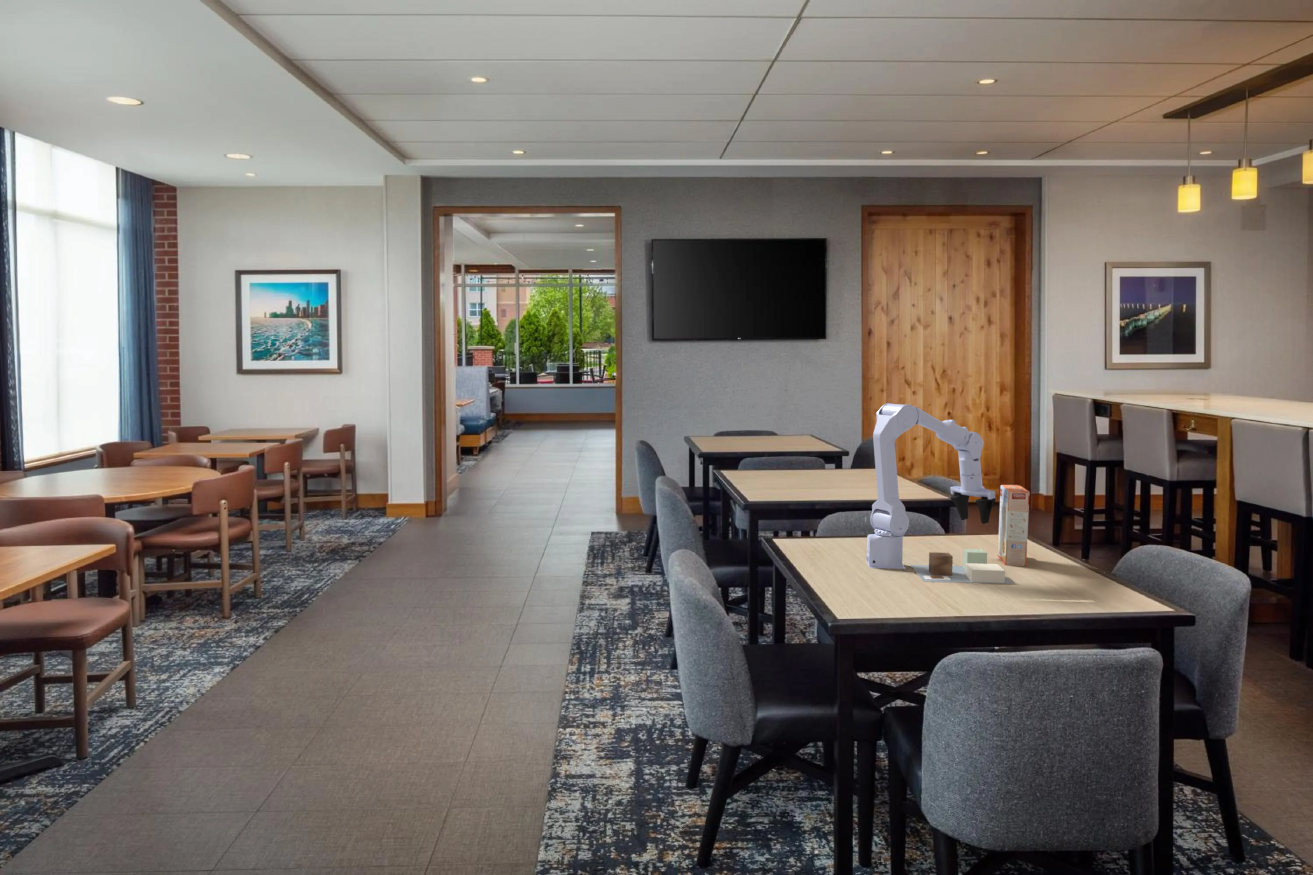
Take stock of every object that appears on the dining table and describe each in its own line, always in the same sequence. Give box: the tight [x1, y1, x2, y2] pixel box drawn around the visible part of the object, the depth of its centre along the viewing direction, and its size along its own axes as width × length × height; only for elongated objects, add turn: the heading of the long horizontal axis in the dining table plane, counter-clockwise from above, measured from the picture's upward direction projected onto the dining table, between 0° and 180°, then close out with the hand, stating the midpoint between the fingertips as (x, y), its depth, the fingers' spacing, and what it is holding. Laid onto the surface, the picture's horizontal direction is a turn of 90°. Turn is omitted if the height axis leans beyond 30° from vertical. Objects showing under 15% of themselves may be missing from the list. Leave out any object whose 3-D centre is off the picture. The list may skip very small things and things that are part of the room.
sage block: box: [962, 548, 988, 569], centre depth 260 cm, size 5×5×5 cm
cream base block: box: [965, 563, 1006, 582], centre depth 249 cm, size 8×8×3 cm
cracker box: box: [997, 484, 1030, 567], centre depth 271 cm, size 14×6×21 cm, turn 168°
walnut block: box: [928, 551, 954, 576], centre depth 255 cm, size 5×5×5 cm
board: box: [910, 564, 1014, 585], centre depth 255 cm, size 22×20×1 cm
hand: (974, 521), depth 276 cm, fingers open, 7 cm apart
